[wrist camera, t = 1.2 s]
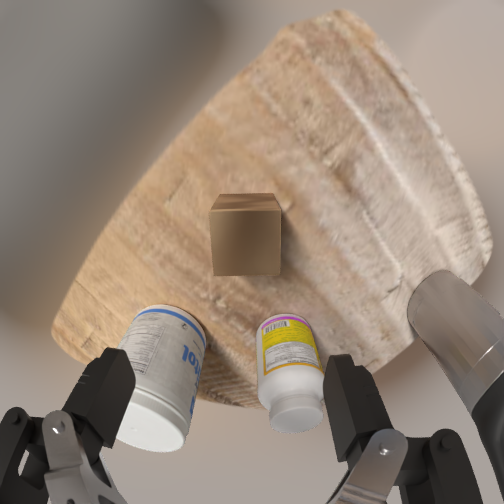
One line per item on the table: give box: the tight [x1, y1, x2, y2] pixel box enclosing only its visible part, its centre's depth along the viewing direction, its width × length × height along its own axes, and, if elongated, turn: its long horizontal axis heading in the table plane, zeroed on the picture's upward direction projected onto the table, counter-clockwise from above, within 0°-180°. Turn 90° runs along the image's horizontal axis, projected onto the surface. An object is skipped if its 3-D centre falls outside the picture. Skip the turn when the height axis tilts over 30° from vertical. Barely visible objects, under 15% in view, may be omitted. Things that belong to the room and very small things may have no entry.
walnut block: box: [209, 193, 281, 276], centre depth 23 cm, size 5×5×7 cm
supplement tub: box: [116, 304, 206, 452], centre depth 25 cm, size 10×10×15 cm
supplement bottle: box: [256, 314, 325, 433], centre depth 25 cm, size 7×7×13 cm
